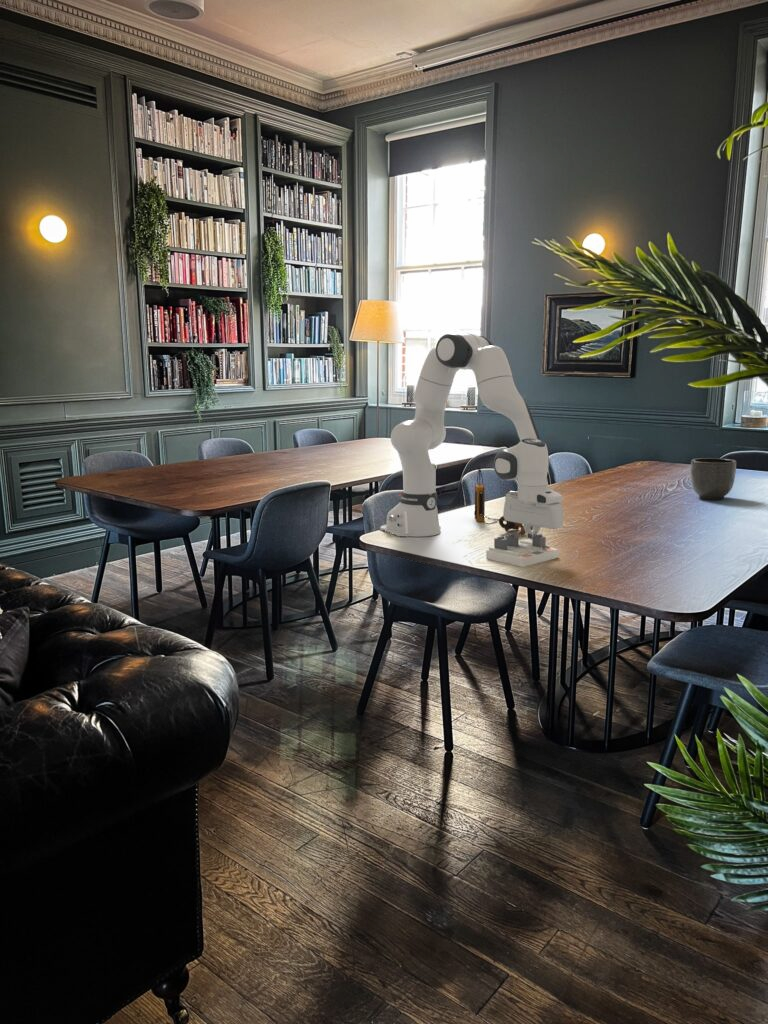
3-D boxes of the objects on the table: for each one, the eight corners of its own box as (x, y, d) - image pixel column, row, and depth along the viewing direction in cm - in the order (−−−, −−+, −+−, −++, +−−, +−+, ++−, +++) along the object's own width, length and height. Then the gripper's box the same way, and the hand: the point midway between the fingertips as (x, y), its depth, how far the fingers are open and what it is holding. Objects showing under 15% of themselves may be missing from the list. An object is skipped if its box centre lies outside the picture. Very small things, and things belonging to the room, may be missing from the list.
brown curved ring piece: (525, 530, 268) (534, 512, 263) (530, 547, 260) (539, 529, 256) (492, 523, 266) (501, 504, 261) (497, 540, 258) (506, 521, 253)
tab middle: (505, 546, 230) (505, 533, 229) (510, 545, 232) (510, 532, 231) (513, 548, 228) (513, 535, 227) (518, 547, 229) (518, 534, 229)
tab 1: (494, 549, 227) (494, 536, 226) (499, 548, 229) (499, 535, 228) (501, 551, 225) (502, 538, 224) (507, 549, 226) (507, 536, 226)
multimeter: (506, 524, 276) (506, 468, 272) (478, 524, 276) (478, 469, 272) (499, 516, 291) (500, 463, 287) (473, 516, 290) (473, 464, 287)
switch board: (486, 558, 228) (486, 547, 227) (521, 549, 238) (521, 539, 237) (523, 567, 217) (523, 555, 216) (558, 557, 227) (558, 546, 226)
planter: (683, 495, 329) (685, 458, 326) (724, 494, 328) (726, 457, 325) (697, 502, 312) (700, 463, 309) (740, 501, 311) (743, 462, 308)
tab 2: (532, 547, 229) (532, 534, 228) (537, 546, 230) (537, 533, 229) (540, 549, 226) (540, 536, 226) (545, 547, 228) (545, 534, 227)
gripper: (499, 491, 233) (498, 535, 236) (553, 499, 218) (552, 546, 221) (512, 488, 237) (512, 532, 240) (567, 496, 222) (565, 543, 224)
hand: (531, 539), depth 230 cm, fingers closed
